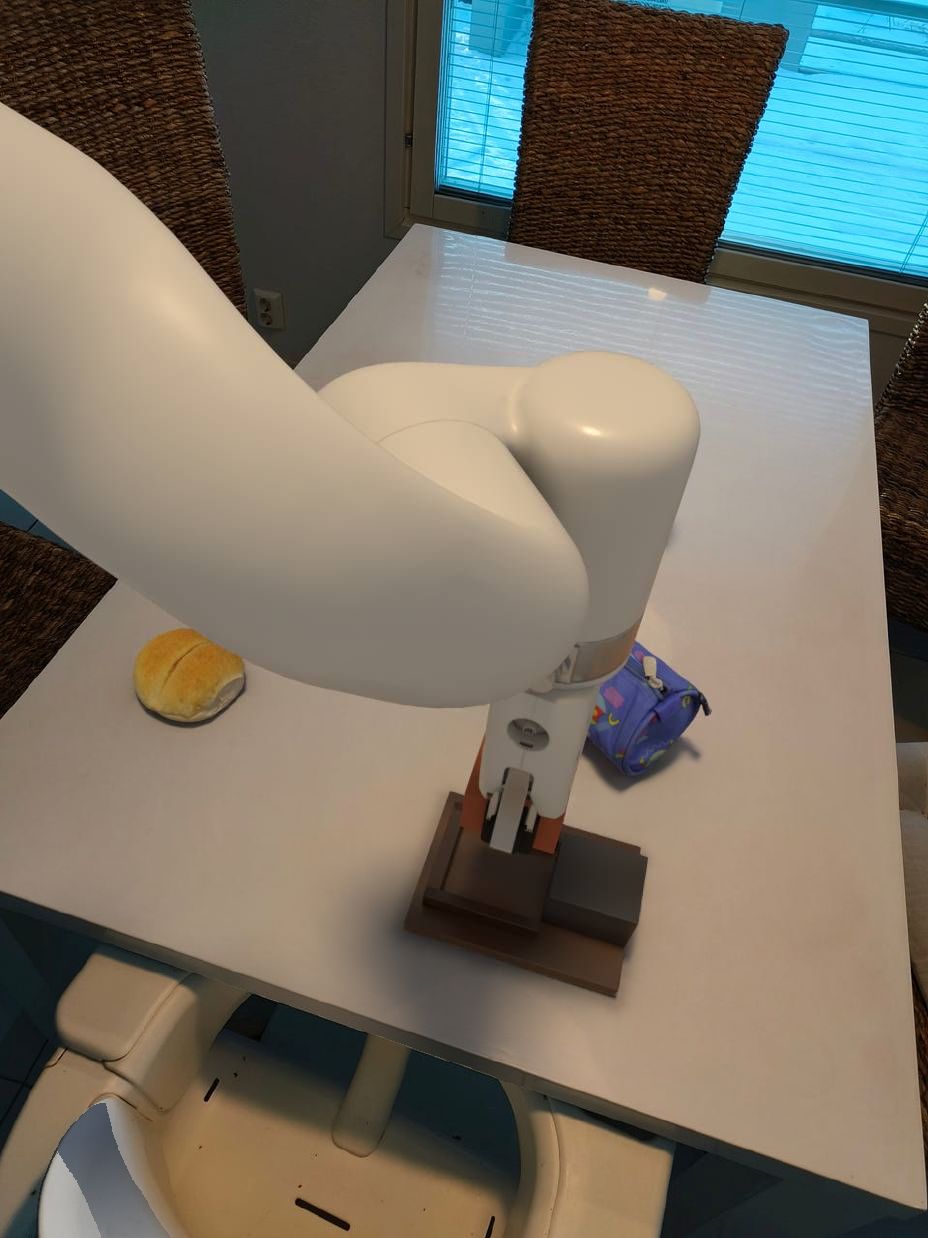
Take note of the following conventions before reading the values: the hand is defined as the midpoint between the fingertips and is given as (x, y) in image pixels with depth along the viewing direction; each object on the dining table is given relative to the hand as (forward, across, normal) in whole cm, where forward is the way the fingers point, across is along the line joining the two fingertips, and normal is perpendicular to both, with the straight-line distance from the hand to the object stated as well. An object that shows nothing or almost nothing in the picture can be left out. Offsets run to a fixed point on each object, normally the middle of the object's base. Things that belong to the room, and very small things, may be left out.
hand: (517, 803), depth 54 cm
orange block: (0, 0, 0) cm, 0 cm away
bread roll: (+11, +9, +30) cm, 33 cm away
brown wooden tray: (+11, 0, -2) cm, 11 cm away
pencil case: (+11, +19, -1) cm, 22 cm away
